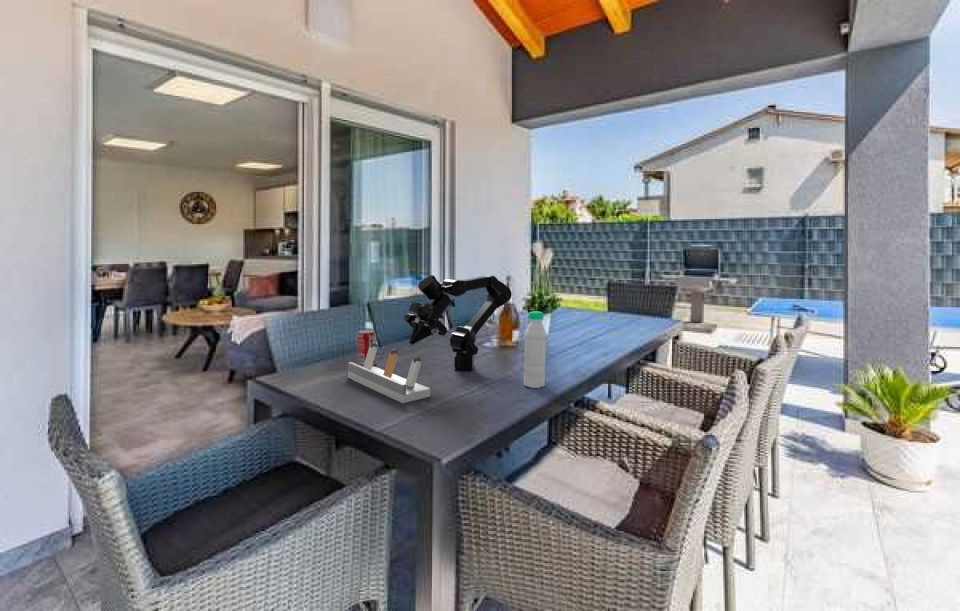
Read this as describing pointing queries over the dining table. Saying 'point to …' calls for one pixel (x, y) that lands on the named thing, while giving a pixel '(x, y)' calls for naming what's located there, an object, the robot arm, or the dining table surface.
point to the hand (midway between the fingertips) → (410, 343)
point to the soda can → (364, 345)
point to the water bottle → (535, 351)
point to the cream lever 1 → (370, 355)
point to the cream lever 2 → (413, 372)
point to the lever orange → (391, 363)
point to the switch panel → (386, 383)
